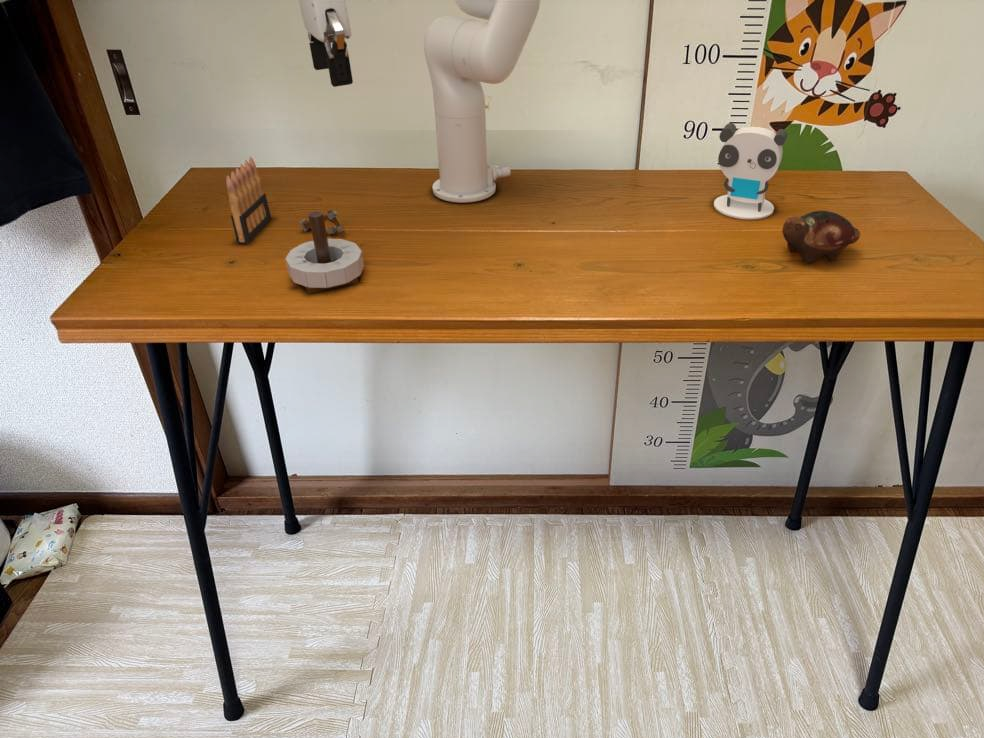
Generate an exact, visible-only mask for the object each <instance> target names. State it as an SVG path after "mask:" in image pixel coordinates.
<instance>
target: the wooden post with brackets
mask: <svg viewBox="0 0 984 738" xmlns="http://www.w3.org/2000/svg"><path fill="white" fill-rule="evenodd" d="M338 214H339V213H338V211H336V210H331V209H329V210H327V213H326V214H323V216H324V222H326V221H329V222H330V223H331V224H334V225H333V226H332V227H328V228H326V233H327V235H331V234H333V235H334V234H335V233H336V232H337V231H338V233H340V235H343V234H344V233H345V230H344V228H343V226H342V224H341V223H340V222H339V220H338V218H337V216H338ZM299 224H300V226H301V228H302V229H303V232H307V231H309V230H311V226H310V221H309V219H307V218H304V219H302V221H300V222H299Z"/></svg>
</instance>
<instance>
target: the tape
mask: <svg viewBox="0 0 984 738" xmlns="http://www.w3.org/2000/svg"><path fill="white" fill-rule="evenodd" d="M327 239H328V244H329V250H330V256H331V261H334V262H330V263H325V264H317V258H316V252H315V247H314V242H313V240H310V241H305V242H302V243H301V244H299V245H297V246H295V247H293V248H291V249H290V250H289V252H288V254H287V255H286V257H285V264H286V268H287V271H288V273H287V274H288V275H289V277H290V279H291V280H292V282H293V283H295V284H296V285H297V284H298V285H300V286H303V287H304V288H305V287H309V288H327V287H328V288H329V287H333V286H337V285H342V284H346V283H348V282H350V281H352V280H353V279H355V278H356V277H360V276H361V275H362V273H363V270H364V267H365V263H364V258H363V251H362V249H361V248H360V247H359V245H358V244H357V243H356V242H352V241H350V240H347V239H343V238H327Z"/></svg>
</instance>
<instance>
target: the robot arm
mask: <svg viewBox="0 0 984 738" xmlns="http://www.w3.org/2000/svg"><path fill="white" fill-rule="evenodd" d="M454 1H455V4H456V6H457V7H458V8H459V10H460V11H461V12H463V13H464V14H466V15H467V16H471V17H474V18H477V19H482V20H486V21H487V22H486V21H481V20H477V19H473V18H468V17H463V16H457V15H444V16H440V17H437V18H436V19H434V20H433V21H432V22H431V23H430V24H429V25H428V26H427V28H426V30H425V33H424V38H423V51H424V57H425V60H426V65H427V68H428V72H429V77H430V81H431V87H432V95H433V109H434V119H435V120H434V121H435V122H434V123H435V131H436V132H435V133H436V148H437V160H438V173H439V178H438V179H437V180H435V181H434V182H433V183H432V194H433V195H434V196H435V197H437V198H438V199H440V200H442V201H446V202H450V203H461V204H462V203H463V204H464V203H465V204H467V203H476V202H480V201H483V200H486V199H488V198H490V197H492V196H493V195H494V194H495V193H496V190H497V184H496V182H495V181H497V179H499V178H507V177H510V176H511V168H510V167H509V166H503V167H500V166H499V164H493V165H488V147H487V146H488V145H487V118H486V116H487V115H486V114H487V113H486V99H485V93H484V89H483V87H482V84H481V83H485V84H490V85H498V84H501V83H503V82H504V81H506V80H507V79H508V78H509V77H510V76H511V75H512V73H513V71H514V69H515V68H516V66H517V63H518V61H519V59H520V56H521V54H522V52H523V50H524V47H525V45H526V43H527V40H528V38H529V35H530V33H531V31H532V28H533V26H534V24H535V21H536V19H537V16H538V13H539V10H540V7H541V0H454ZM298 3H299V7H300V13H301V17H302V22H303V25H304V27H305V30H306V31H307V37H308V41H309V42H308V43H309V49H310V55H311V60H312V66H313V69H314V70H315V71H320V70H328V73H329V78H330V85H331V86H332V87H333V88H334V87H335V88H336V87H343V86H348V85H352V84H353V83H354V80H353V74H352V69H351V62H350V55H349V50H348V43H347V42H346V39H347V40H349V39H350V38H351V37H352V29H351V24H350V18H349V14H348V9H347V3H346V0H298Z"/></svg>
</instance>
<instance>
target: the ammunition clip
mask: <svg viewBox="0 0 984 738" xmlns="http://www.w3.org/2000/svg"><path fill="white" fill-rule="evenodd" d="M226 189H227V194H228V202H229V207H230V211H231V215H230V218H231V223H232V228H233V230H234V235H235V239H236V240H235V241H236V243H237V244H245V245H246V244H249V243H250V242H251V241H252V240H253V239H254V238H255V237H256V236H257V235H258V234H259V233H260V232H261V231H262V230H263V229H264V228H265V227H266V225H268V223H269V222H270V221H271V220H272V215H271V211H270V207H269V202H268V199H267V195H266V193H265V192H264V189H263V185H262V180H261V178H260V176H259V173H258V168H257V166H256V162H255V161H254V159H253V157H252V156H249V158H248V160H246V159H245V160H244V165H243V164H242V163H241V164H240V166H239V168H238V167H236V168H235V172H234V170H233V171H231V172H230V176H229V174H228V175H226Z"/></svg>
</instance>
